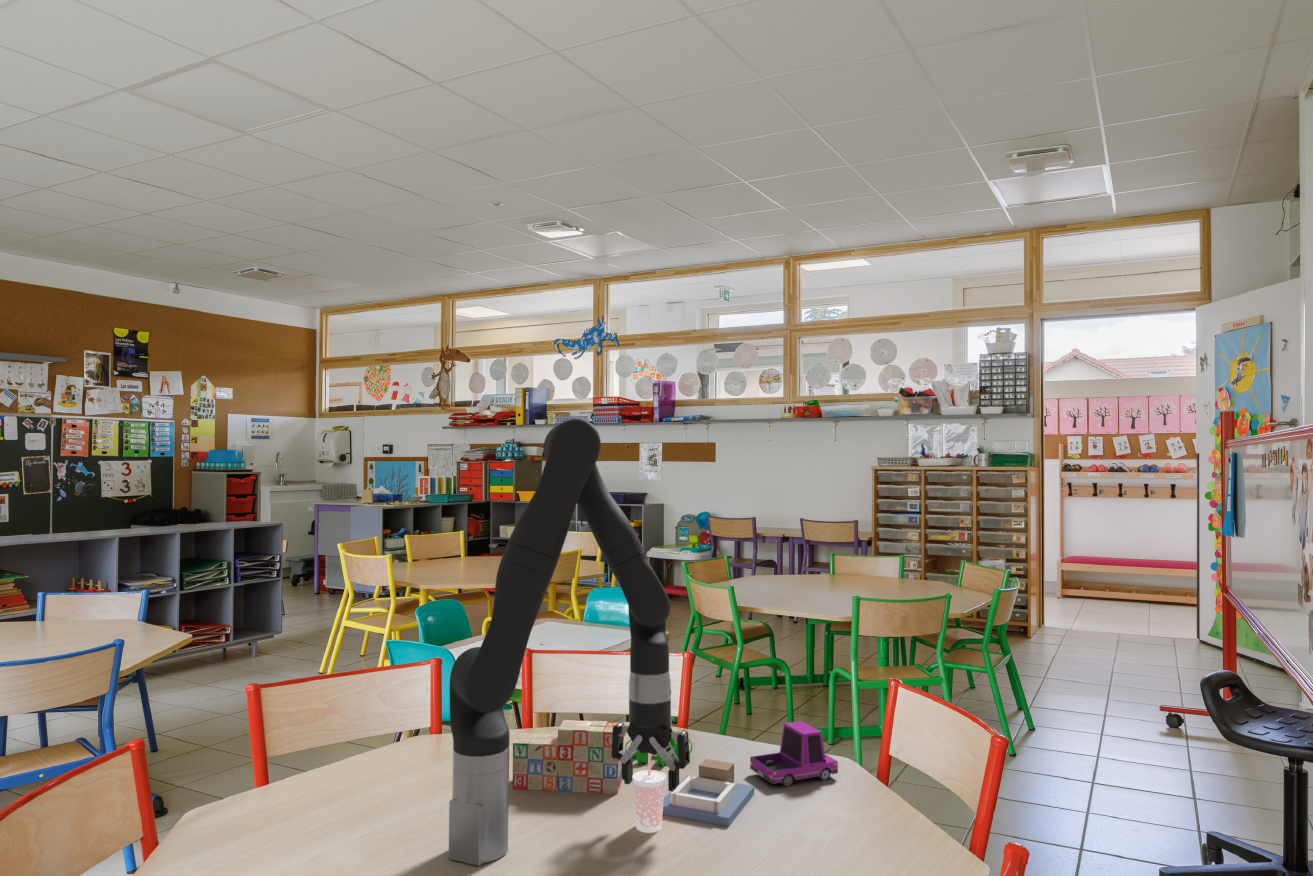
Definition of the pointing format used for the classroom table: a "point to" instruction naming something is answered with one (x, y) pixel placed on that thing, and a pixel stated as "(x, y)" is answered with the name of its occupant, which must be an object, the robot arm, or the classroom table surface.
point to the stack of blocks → (568, 759)
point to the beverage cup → (649, 798)
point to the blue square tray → (709, 795)
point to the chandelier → (644, 756)
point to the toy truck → (796, 757)
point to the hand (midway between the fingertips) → (650, 786)
